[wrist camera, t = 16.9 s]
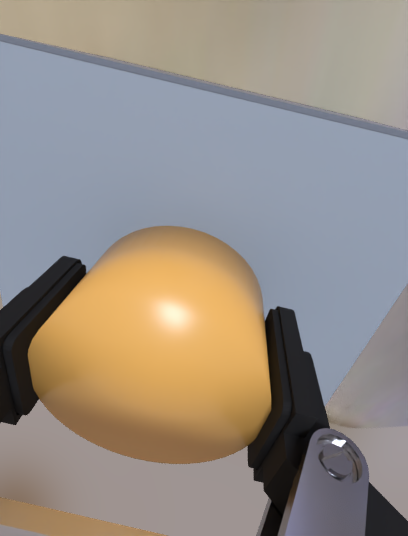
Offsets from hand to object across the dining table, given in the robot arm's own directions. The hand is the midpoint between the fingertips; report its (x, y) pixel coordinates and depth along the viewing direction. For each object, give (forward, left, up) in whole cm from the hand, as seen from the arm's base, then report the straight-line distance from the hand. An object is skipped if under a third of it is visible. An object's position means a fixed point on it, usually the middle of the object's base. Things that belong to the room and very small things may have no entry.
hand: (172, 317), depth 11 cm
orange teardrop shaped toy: (0, 0, -1) cm, 1 cm away
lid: (0, 0, -3) cm, 3 cm away
